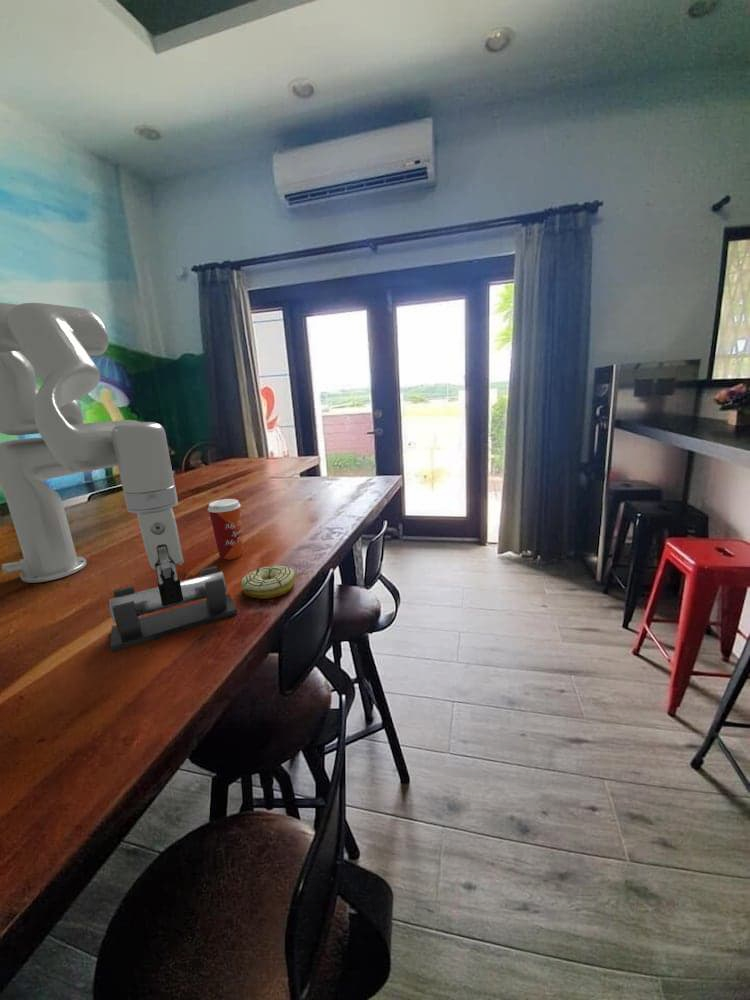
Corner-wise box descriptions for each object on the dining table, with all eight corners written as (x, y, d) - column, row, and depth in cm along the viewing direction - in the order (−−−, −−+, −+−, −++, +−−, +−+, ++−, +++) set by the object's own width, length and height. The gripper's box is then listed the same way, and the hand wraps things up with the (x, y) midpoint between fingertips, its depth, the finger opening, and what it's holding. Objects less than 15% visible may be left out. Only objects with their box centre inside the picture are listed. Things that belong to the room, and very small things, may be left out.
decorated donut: (253, 578, 90) (251, 562, 89) (301, 577, 89) (299, 562, 88) (235, 602, 80) (232, 584, 79) (288, 601, 79) (286, 584, 78)
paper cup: (237, 562, 98) (229, 507, 94) (209, 561, 100) (199, 506, 96) (253, 550, 105) (246, 498, 102) (226, 548, 107) (218, 497, 103)
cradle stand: (111, 652, 66) (101, 611, 64) (113, 631, 72) (103, 593, 70) (237, 614, 75) (231, 577, 73) (229, 598, 81) (224, 564, 79)
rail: (114, 627, 67) (108, 606, 65) (114, 615, 70) (109, 595, 69) (227, 595, 75) (224, 576, 74) (223, 586, 79) (220, 567, 77)
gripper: (182, 506, 62) (200, 606, 66) (172, 485, 76) (187, 568, 81) (125, 515, 58) (148, 620, 63) (126, 491, 73) (145, 578, 77)
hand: (170, 591), depth 72 cm, fingers open, 9 cm apart
